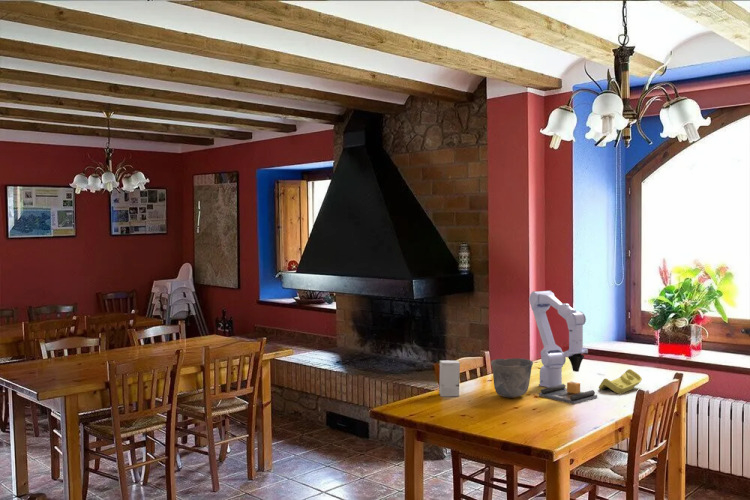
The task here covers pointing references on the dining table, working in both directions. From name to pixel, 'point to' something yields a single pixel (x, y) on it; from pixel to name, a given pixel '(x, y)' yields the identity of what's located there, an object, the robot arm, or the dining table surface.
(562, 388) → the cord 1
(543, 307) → the robot arm
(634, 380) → the plastic component
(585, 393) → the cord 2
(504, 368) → the gray stone pot
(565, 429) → the dining table surface
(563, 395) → the panel
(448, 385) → the skincare box
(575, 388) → the toggle
